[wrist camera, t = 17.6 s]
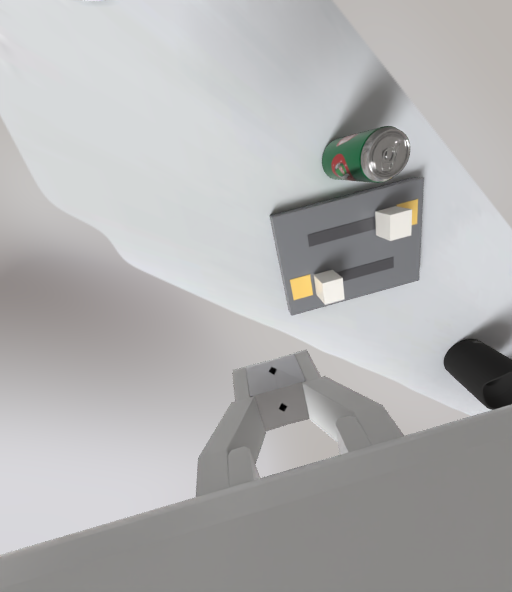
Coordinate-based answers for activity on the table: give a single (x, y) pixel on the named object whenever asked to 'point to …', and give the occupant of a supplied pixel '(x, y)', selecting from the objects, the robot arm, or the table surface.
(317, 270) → the switch panel
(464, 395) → the table surface
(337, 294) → the block
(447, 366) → the pen holder
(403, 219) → the block
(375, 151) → the soda can
